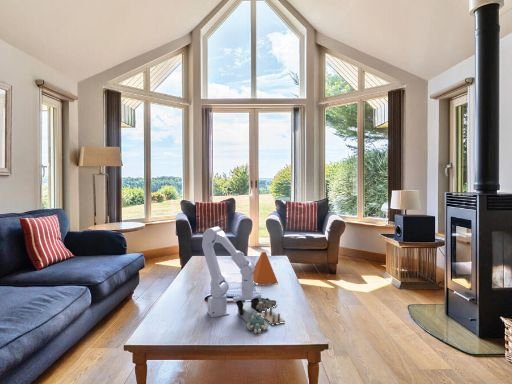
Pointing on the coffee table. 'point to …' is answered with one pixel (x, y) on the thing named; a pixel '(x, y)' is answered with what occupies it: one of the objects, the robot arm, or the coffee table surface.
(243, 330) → the coffee table surface
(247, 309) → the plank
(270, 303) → the geode
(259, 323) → the stuffed animal
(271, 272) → the pyramid
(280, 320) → the peg stand
